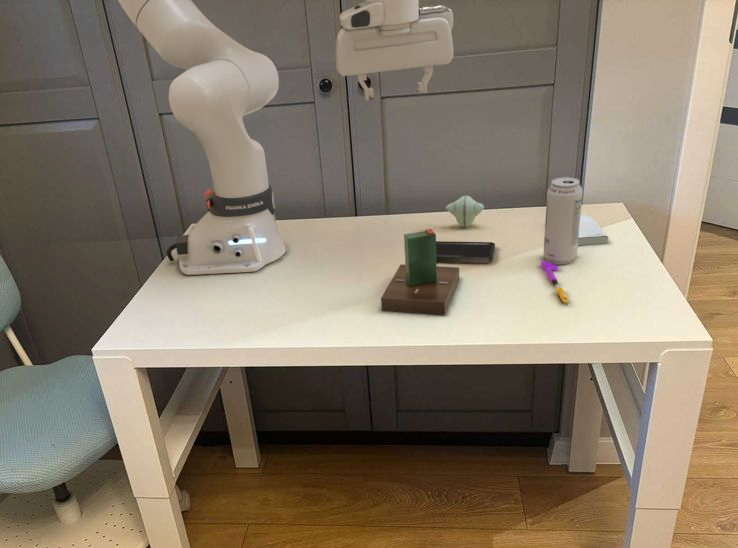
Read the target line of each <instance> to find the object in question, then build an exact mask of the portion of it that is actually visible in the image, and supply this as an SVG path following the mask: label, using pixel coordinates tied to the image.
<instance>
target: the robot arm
mask: <svg viewBox="0 0 738 548" xmlns="http://www.w3.org/2000/svg"><path fill="white" fill-rule="evenodd" d="M117 1H118V3H119V6H121V8H122V10H123V11H124V13H125V14H126V15H127V17H128V18H129V20H130V21H131V23H132V24H133V25H134V26H135V27H136V29H137V30H138V31H139V32H140V34H141V35H142V36H143V37H144V38H145V39H146V41H147V42H148V43H149V45H150V46H151V48H153V49H154V51H155V52H156V53H157V55H159V57H160V58H161V59H162V60H163V61H164V62H165V63H168V64H169V65H171V66H174V67H177V68H181V69H183V70H185V71H183V72H182V73H180V75H178V76H176V78H174V79H173V80H172V81H171V83H170V86H169V88H168V104H169V107H170V110H171V113H172V114H173V115H174V118H175V119H176V120H177V121H178V123H179V124H180V125H181V126H182V127H184V128H186V129H188V130H190V132H192V133H193V134H194V135H195V136H196V138H197V139H198V142H200V144H201V146H202V148H203V150H204V152H205V155H206V158H207V161H208V165H209V170H210V175H211V181H212V184H213V189H207V190H206V191H205V193H204V199H205V203H206V208H207V209H206V210H207V212H206V213H205V214H204V215H203V216H202V217H201V218H200V219H199V220H198V221H197V222H196V223H195V224H194V225H193V226H192V227H191V229H190V230H189V233H188V234H183V235H177V238H176V240H175V243H174V244H171V245H170V246H169V247H168V248H167V249H166V257H167V258H168V261H169V263H171V262H172V263H173V262H174V261H175V258H174V256H173V255H172V251H174V250H175V249H176V255H177V256H179V259H178V263H179V264H178V265H179V270H180V271H181V273H183V274H184V275H187V276H195V275H197V276H199V275H213V274H215V275H217V274H234V273H235V274H236V273H254V272H257V271H259V270H260V269H262V268H263V267H264V266H266V265H268V264H271V263H272V262H275V261H277V260H278V259H280V258H282V257H283V256H284V255H285V253H286V251H287V248H286V246H285V244H284V242H283V239H282V236H281V234H280V231H279V228H278V227H279V226H278V224H277V220H276V216H275V212H276V210H275V209H276V205H275V199H274V191H273V189H272V185H271V184H270V182H269V174H268V167H267V160H266V153H265V149H264V147H263V146H262V144H261V143H259V142H258V141H257V140H255V139H253V138H251V137H250V135H249V134H248V131H247V129H246V127H245V124H244V123H245V122H244V121H243V120H244V117H245V116H247V115H249V114H252V113H254V112H257V111H259V110H261V109H262V108H264V107H265V106H266V105H267V104H268V103H270V102H271V101H272V100H273V99H274V98H275V96H276V95H277V93H278V90H279V86H280V79H279V78H280V77H279V73H278V70H277V67H276V65H275V64H274V63H273V61H272V60H271V59H270V58H269V57H268V56H267V55H265V54H263V53H260V52H257V51H255V50H251V49H249V48H247V47H246V46H244V45H242V44H241V43H239V42H237V40H234V38H232V37H230V36H229V35H228V34H226V33H225V32H223V31H222V30H221V29H219V28H218V27H217V26H216V25H215V24H214V23H213V22H211V21H210V20H209V19H208V18H207V17H206V16H205V15H204V14H203V13H202V11H201V10H200V9H199V7H197V5H196V4H195V3H194V2H193V0H117ZM419 5H420V4H419V0H364V1H363V2H361V3H359V4H357V5H355V6H353V7H351V8H349V9H346V10H344V11H342V12H341V13H340V15H339V24H340V26H341V27H342V28H341V29H340V30H339V31H338V33H337V36H336V39H335V41H336V42H335V68H336V72H337V73H338V74H339V75H340V76H342V77H349V76H356V78H357V79H356V80H357V81H358V83H359V85H360V86H361V87H362V89H363V93H364V101H373V100H375V96H374V95H375V89H374V88H373V87H368V85H367V83H366V82H365V81H367V76H368V75H367V74H374V73H383V72H390V71H399V70H406V69H408V70H409V69H417V68H422V71H423V72H424V74H423V76H422V78H421V80H420V81H418V82H416V87H417V88H416V93H417V94H418V95H424V94H428V83H429V81H430V79H431V77H432V75H433V73H434V66H440V65H449V64H450V63H451V62H452V60H454V59H453V58H454V42H453V36H452V30H453V28H454V13H453V11H452V10H451V9H450V8H449V7H447V6H445V4H439V5H435V6H419Z"/></svg>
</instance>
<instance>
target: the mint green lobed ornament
mask: <svg viewBox="0 0 738 548" xmlns="http://www.w3.org/2000/svg"><path fill="white" fill-rule="evenodd" d="M445 209H446V210H447V211H448V212H449V213H450V214H451V215H452V216H453V217H454V218H455V220H456V222H457V223H458V224H459V226H460V227H462V228H468V227H470V226H471V225H472V224H473V223H474V222H475V220H476V217H477V216H479V215H480V214H481V213H482V212H483V210H484V209H485V206H484V204H483V203H481V202H477V201H476V200H475V199H473V198H472V196H469V195H463V196H462V195H461V196H460V198H458V199H457V200H455V201H453V202H451V203H448V205H446V206H445Z"/></svg>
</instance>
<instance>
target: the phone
mask: <svg viewBox="0 0 738 548" xmlns="http://www.w3.org/2000/svg"><path fill="white" fill-rule="evenodd" d="M495 252H496V243H495V242H492V241H447V240H445V241H444V240H443V241H439V240H436V263H451V264H452V263H456V264H457V263H458V264H490V263H493V261H494V256H495Z"/></svg>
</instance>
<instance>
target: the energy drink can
mask: <svg viewBox="0 0 738 548" xmlns="http://www.w3.org/2000/svg"><path fill="white" fill-rule="evenodd" d="M583 193H584V191H583V188H582V186H581V181H580V179H579V178H575V177H571V176H570V177H568V176H566V177H557V178H554V179H552V180H551V184H550V186H549V187H548V188H547V191H546V205H545V222H544V238H543V252H542V254H543V257H545V261H549V263H550V264H556V265H569V264H571V263H573V262H574V260H575V259H576V258H577V256H578V249H579V245H578V238H579V226H580V215H581V214H582V203H583Z"/></svg>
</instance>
